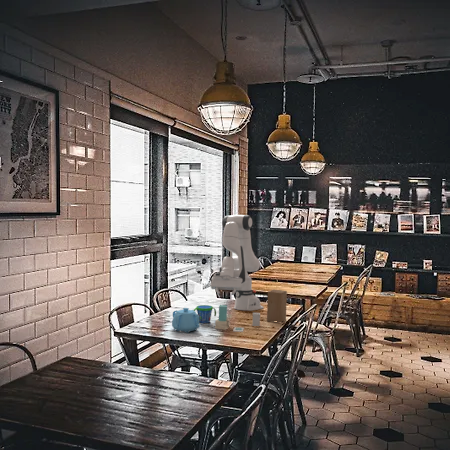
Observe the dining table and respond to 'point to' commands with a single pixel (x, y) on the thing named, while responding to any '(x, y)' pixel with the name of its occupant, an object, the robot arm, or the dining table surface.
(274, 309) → the wooden block
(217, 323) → the maple block
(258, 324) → the grey block
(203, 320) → the snack cup
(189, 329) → the decorative pot
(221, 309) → the teal block
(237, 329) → the tile
